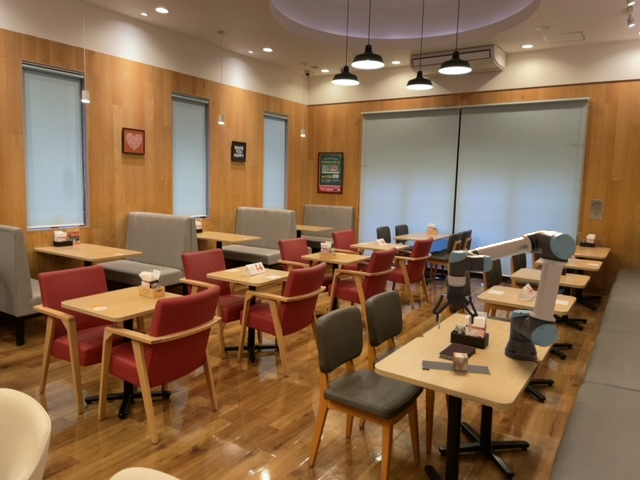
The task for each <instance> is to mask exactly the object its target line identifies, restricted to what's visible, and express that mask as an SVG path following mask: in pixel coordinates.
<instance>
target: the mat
mask: <svg viewBox="0 0 640 480" xmlns="http://www.w3.org/2000/svg"><path fill="white" fill-rule="evenodd" d="M422 370H425V371H430V370H438V371H448V372H458V373H467V374H468V373H469V374H476V375H477V374H479V375H488V376H491V375H492V374H491V372H490V369H489V366H486V365H477V364H476V365H475V364H468V368H467V371H464V370H454V368H453V362H446V361H445V362H442V361H434V360H422Z"/></svg>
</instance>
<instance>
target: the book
mask: <svg viewBox="0 0 640 480" xmlns="http://www.w3.org/2000/svg"><path fill="white" fill-rule="evenodd" d="M476 350H477V348H476V347H474V346H470V345H465V344H461V343H457V342H453V343H450V344H449V345H448V346H447V347H445V348H444V349H443V350H441V351H439V354H438V355H439V357H440V358H445V359H449V360H452V361H453V354H454V353H465V354H467V356H468V359H469V358H470V357H471V356H472V355H474V354H476V352H477V351H476Z"/></svg>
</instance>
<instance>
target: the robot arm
mask: <svg viewBox="0 0 640 480" xmlns="http://www.w3.org/2000/svg"><path fill="white" fill-rule="evenodd" d="M576 243H577V242H576V240H575V239H574V237H573V236H571V235H570V234H567V233H565V232H562V231H560V232H559V231H554V230H550V229H549V230H547V229H546V230H545V229H543V230H537V231H534V232H531V233H527V234H523V235H521V236H520V237H519V238H514V239H510V240H506V241H501V242H498V243H494V244H489V245H487V246H482V247H477V248H474V249H470V250H464V249H463V250H452V251H451V252H450V253H449V259H448V277H447V278H448V281H447V283H448V285H447V294H444V293H440V295H439V299H438V301H437V303H436V304H435V305H434V308H433V309H432V314H433V315H435V321H436V323H437V330H440V329H441V318H442V317H441V313H442V312H443V311H445V309H446V308H447V307H449V306H450V305H452V306H455V305H456V306H462V307H463V308H464V310H465V311H466V312H467V314H468V315H469V316H468V331H467V332H471V331H472V325H474V322H475V318H477V317H479V314H478V312H477V309H476V307H475V305H474V302H473V299H472V295H470V294H469V295H465V293H466V286H465V285H466V280H467V279H466V276H467V273H470V272H471V273H475V272H476V273H486V272H487V273H488V272H490V271H491V270H492V268H493V261H496V260H500V259H505V258H509V257H512V256H518V255H521V254H526V255H529V254H540V260H541V261H542V267H541V271H540V277H539V281H538V286H537V291H536V297H535V300H534V301H535V302H534V306H533V310H527V309H526V310H525V309H515V310H513V311H512V312H511V313H510V327H509V338H508V341H507V343H506V345H505V348H504V354H505V355H506V356H508V357H509V358H512V359H515V360H519V361H533V360H536V359H537V358H538V351H537V348H536V346H538V347H541V348H546V347H547V348H548V347H550V346H552V345H553V344H555V343H556V342H557V340H558V338H559V330H558V328H557V326H555V325H556V321H557V320H556V318H555V317H554V313H555V308H556V302H557V298H558V293H559V287H560V284H561V278H562V274H563V273H562V272H563V268H564V266H566V264H568V262H569V259H571V258H572V257H573V256H574V255H575V254H576V251H577V244H576ZM445 299H447V300H446V302H445V303H444V304H443V305H442V306H440V305H441V304H442V303H443V301H444V300H445ZM465 300H467V301H468V302H469V305H470V306H471V309H472V311H473V312H472V311H471V310H470V308H469V307H468V305H466V303H465V302H464V301H465ZM439 307H440V308H439ZM438 308H439V309H438Z"/></svg>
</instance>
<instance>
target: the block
mask: <svg viewBox="0 0 640 480" xmlns="http://www.w3.org/2000/svg"><path fill="white" fill-rule="evenodd" d="M452 363H453V368H454V370H464V371H467V368H468V365H469V358H468V356H467V354H465V353H454V354H453V360H452Z"/></svg>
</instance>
